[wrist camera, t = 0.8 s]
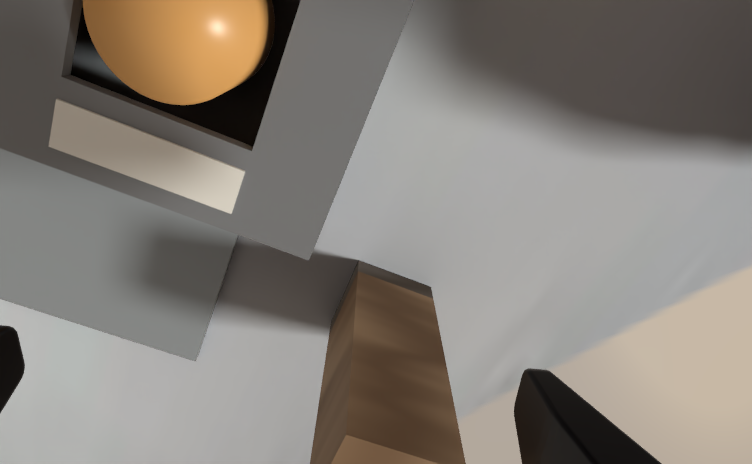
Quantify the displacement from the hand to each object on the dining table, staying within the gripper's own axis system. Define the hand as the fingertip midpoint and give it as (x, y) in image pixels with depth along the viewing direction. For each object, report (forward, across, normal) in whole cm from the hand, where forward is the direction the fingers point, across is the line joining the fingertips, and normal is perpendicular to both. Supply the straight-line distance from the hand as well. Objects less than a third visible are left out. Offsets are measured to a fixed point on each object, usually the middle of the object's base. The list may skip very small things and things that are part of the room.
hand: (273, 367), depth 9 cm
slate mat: (+12, +10, +5) cm, 16 cm away
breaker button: (+10, +4, -5) cm, 13 cm away
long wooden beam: (+13, -2, +6) cm, 14 cm away
